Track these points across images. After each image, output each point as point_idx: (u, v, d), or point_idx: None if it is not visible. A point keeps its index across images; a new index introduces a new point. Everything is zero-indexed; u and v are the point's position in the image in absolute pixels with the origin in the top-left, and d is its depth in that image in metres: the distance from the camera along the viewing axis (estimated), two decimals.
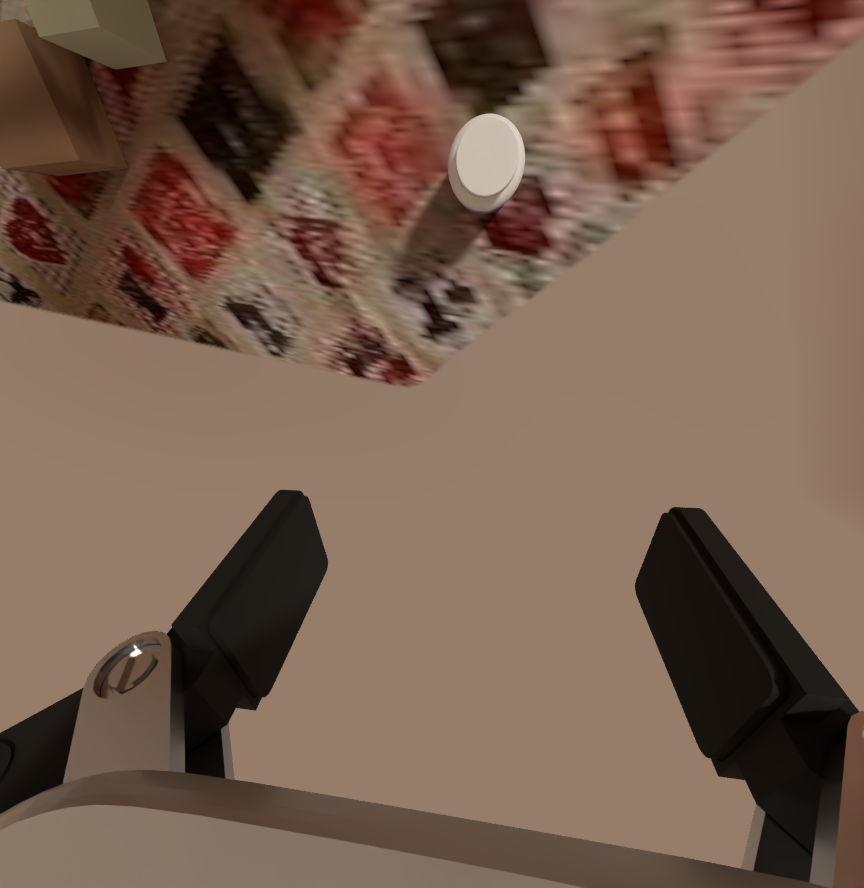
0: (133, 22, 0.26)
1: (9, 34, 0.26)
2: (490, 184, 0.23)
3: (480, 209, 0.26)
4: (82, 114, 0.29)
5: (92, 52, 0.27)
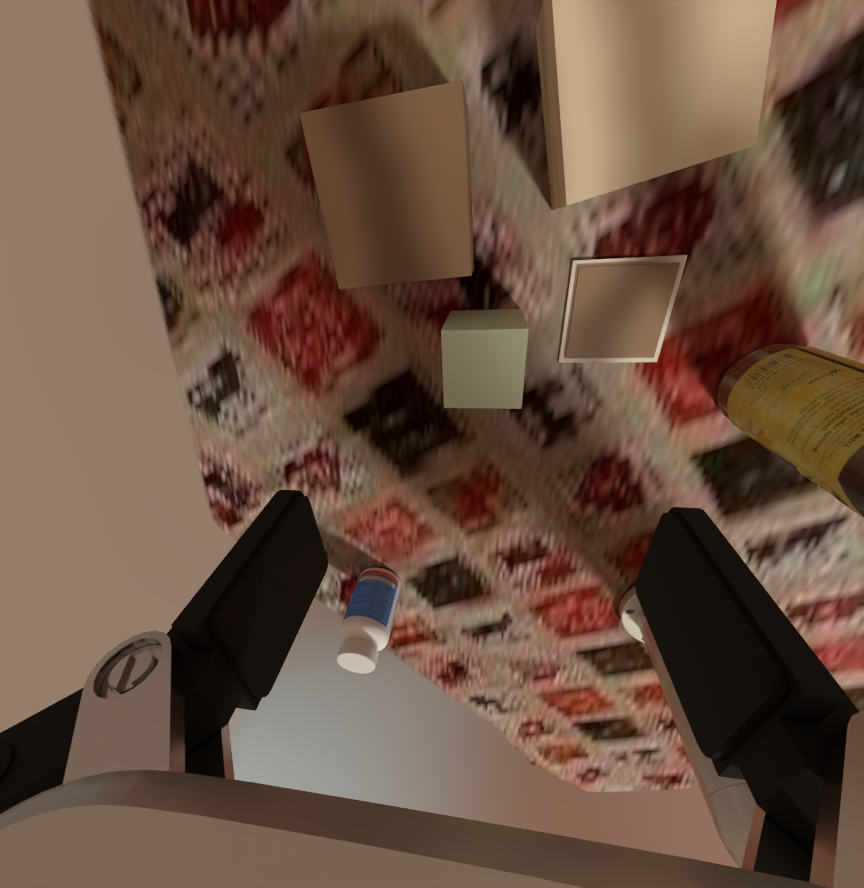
0: None
1: (459, 256, 0.19)
2: (343, 663, 0.35)
3: (340, 632, 0.37)
4: None
5: None
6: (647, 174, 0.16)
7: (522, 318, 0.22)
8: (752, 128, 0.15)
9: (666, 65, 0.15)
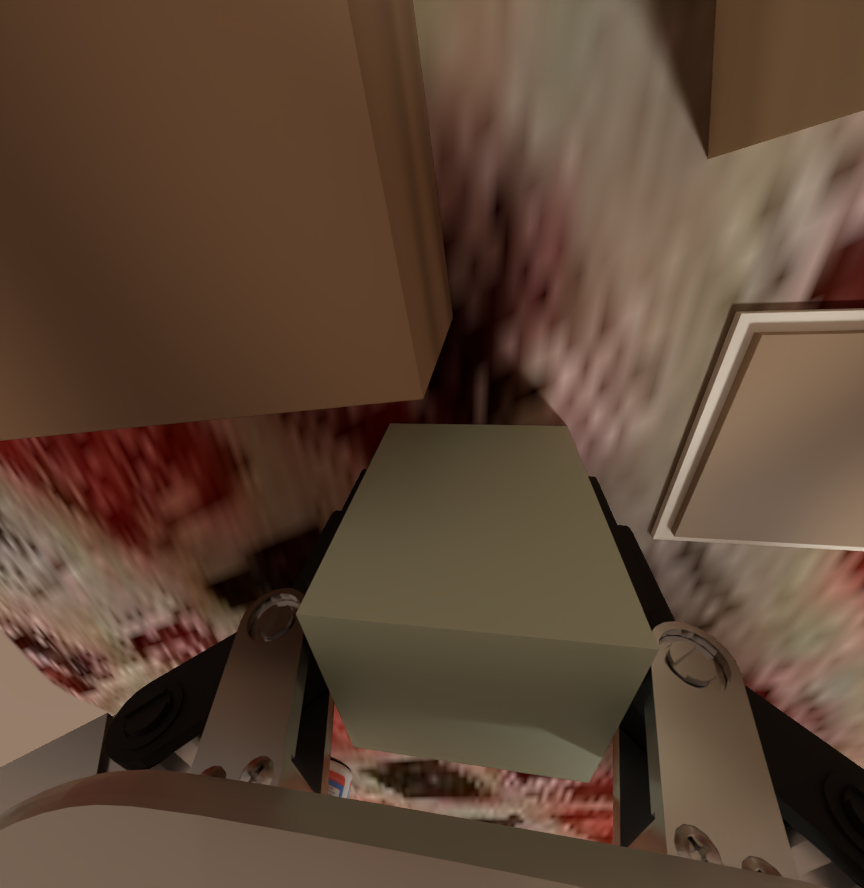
0: None
1: (353, 321, 0.04)
2: None
3: None
4: None
5: None
6: None
7: (594, 506, 0.07)
8: None
9: None
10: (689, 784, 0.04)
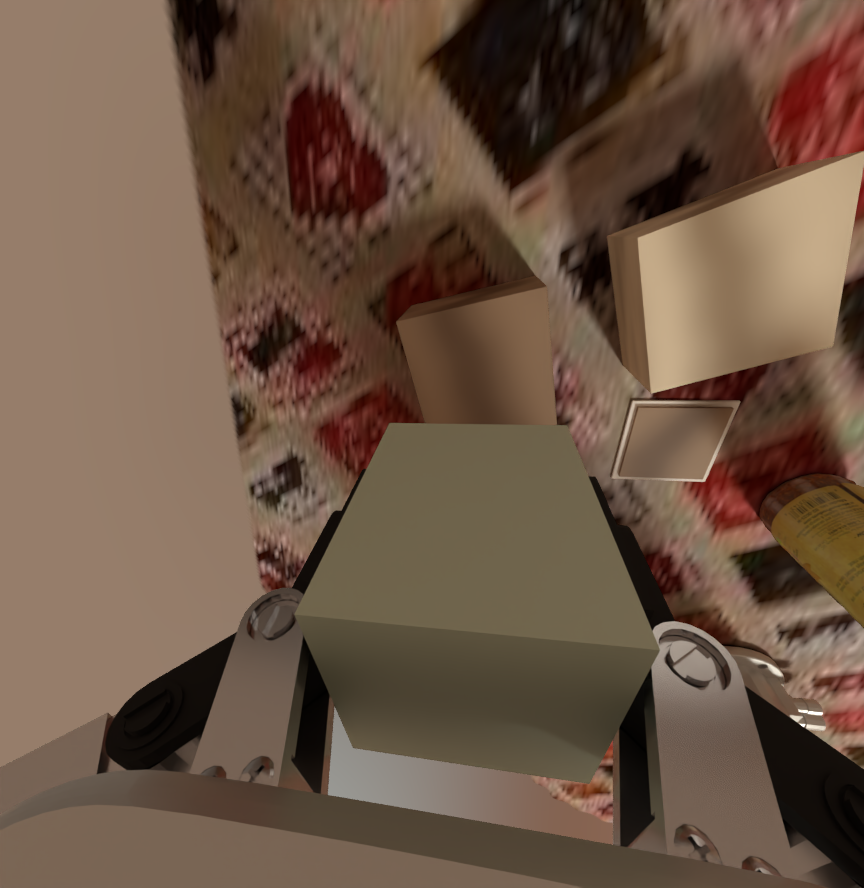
0: None
1: (544, 412, 0.21)
2: None
3: None
4: None
5: None
6: (727, 369, 0.18)
7: (594, 506, 0.07)
8: (828, 335, 0.17)
9: (745, 296, 0.16)
10: (689, 784, 0.04)
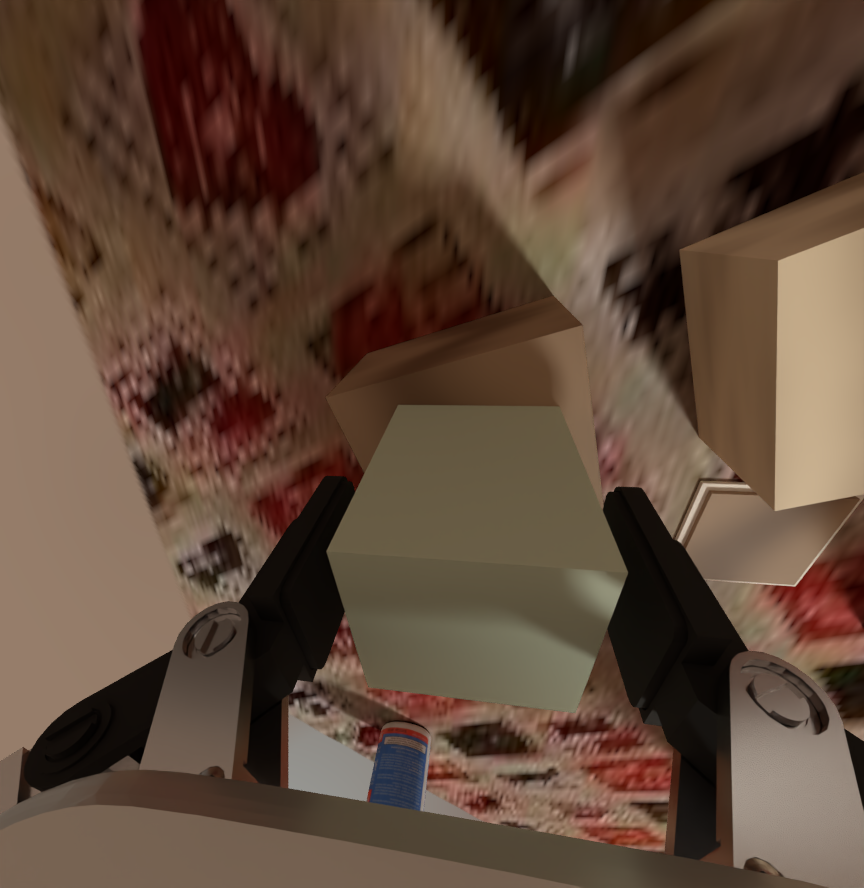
0: None
1: None
2: None
3: None
4: None
5: None
6: None
7: (580, 470, 0.08)
8: None
9: None
10: (806, 847, 0.04)
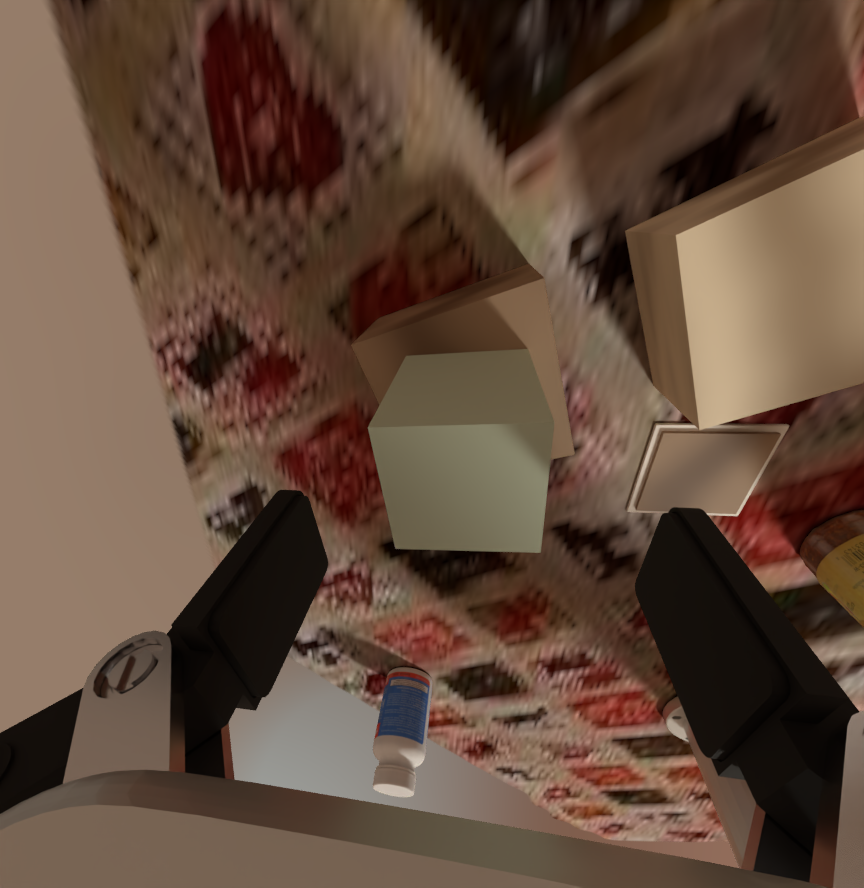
0: None
1: (557, 439, 0.16)
2: (379, 789, 0.33)
3: (373, 750, 0.35)
4: None
5: None
6: (805, 395, 0.14)
7: (535, 381, 0.11)
8: None
9: (833, 299, 0.12)
10: None
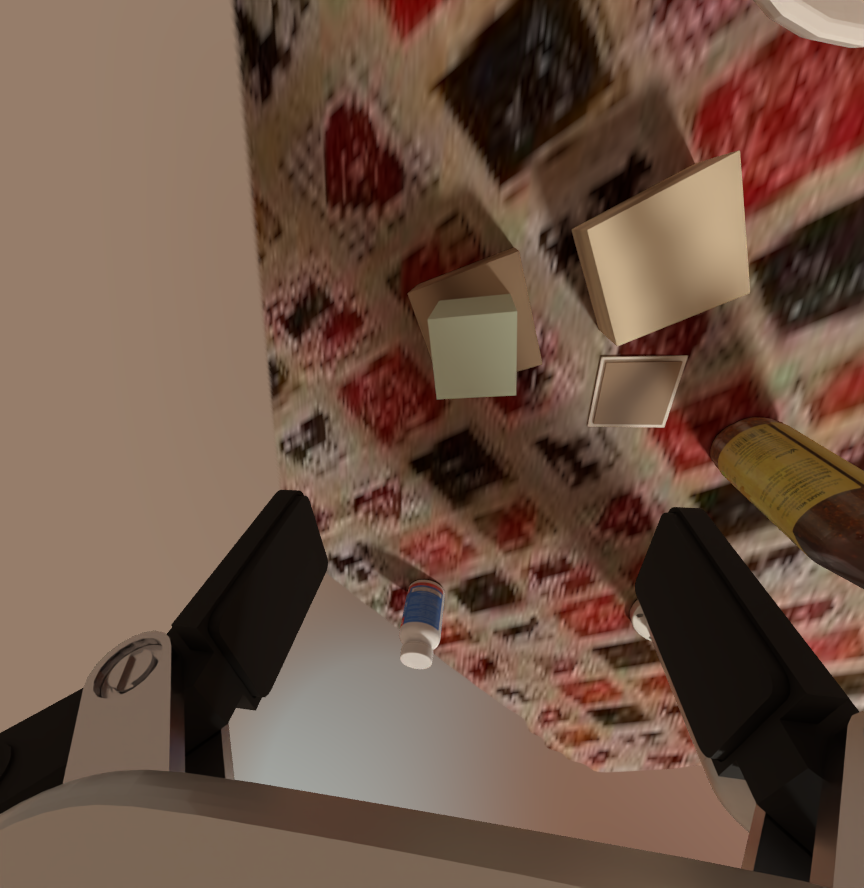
0: None
1: (531, 353, 0.26)
2: (405, 661, 0.43)
3: (399, 635, 0.45)
4: None
5: None
6: (673, 320, 0.24)
7: (511, 302, 0.21)
8: (745, 284, 0.22)
9: (675, 262, 0.22)
10: None
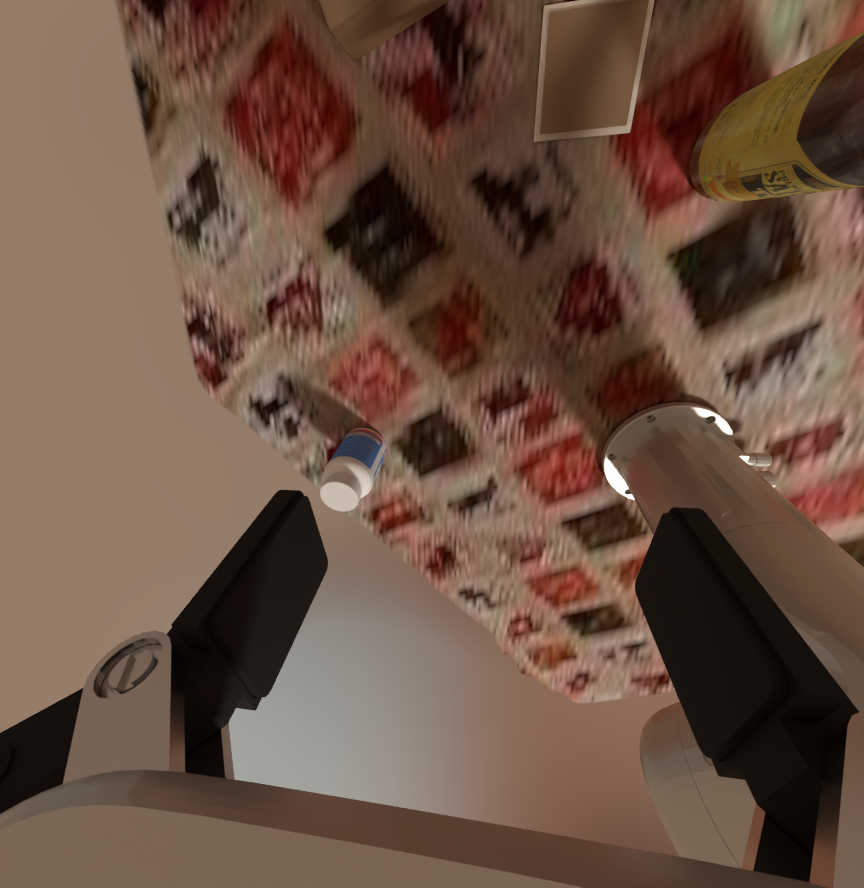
0: None
1: None
2: (326, 498, 0.35)
3: (324, 477, 0.37)
4: (387, 16, 0.22)
5: None
6: None
7: None
8: None
9: None
10: None
